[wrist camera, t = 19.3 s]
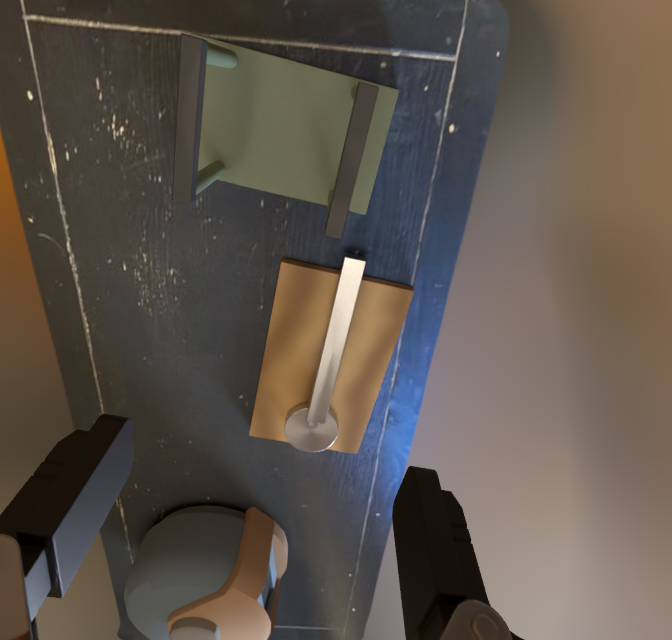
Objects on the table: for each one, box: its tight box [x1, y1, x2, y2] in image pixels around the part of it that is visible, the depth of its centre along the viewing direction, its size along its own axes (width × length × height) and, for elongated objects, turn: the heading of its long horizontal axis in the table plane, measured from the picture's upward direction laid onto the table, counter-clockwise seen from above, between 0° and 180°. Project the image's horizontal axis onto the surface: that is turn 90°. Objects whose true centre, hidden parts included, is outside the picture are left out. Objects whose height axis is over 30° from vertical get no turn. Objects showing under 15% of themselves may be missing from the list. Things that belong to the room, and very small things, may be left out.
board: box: [249, 258, 414, 454], centre depth 46 cm, size 13×22×1 cm, turn 167°
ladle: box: [284, 253, 366, 452], centre depth 44 cm, size 24×6×3 cm, turn 167°
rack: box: [172, 33, 399, 239], centre depth 31 cm, size 16×10×11 cm, turn 77°
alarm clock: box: [124, 505, 288, 640], centre depth 56 cm, size 19×20×12 cm
